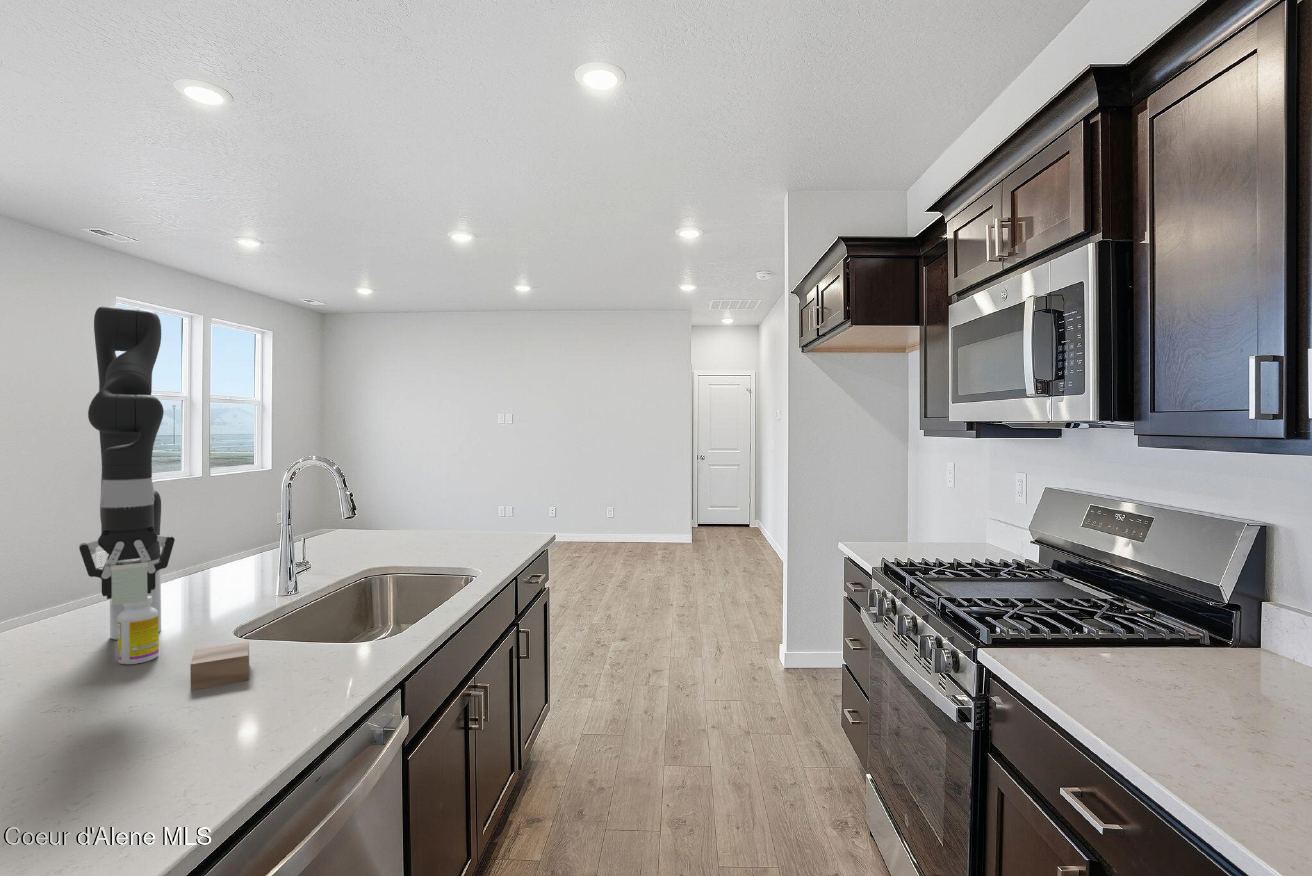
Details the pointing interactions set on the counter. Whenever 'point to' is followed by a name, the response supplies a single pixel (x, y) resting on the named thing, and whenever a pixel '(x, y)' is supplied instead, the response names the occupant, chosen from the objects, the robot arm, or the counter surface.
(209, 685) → the walnut block
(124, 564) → the tea tin
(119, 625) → the supplement bottle
